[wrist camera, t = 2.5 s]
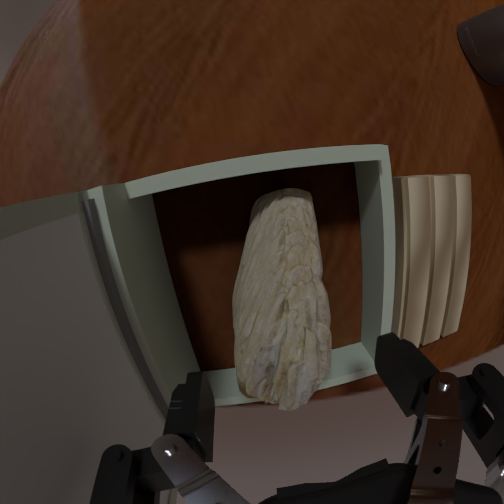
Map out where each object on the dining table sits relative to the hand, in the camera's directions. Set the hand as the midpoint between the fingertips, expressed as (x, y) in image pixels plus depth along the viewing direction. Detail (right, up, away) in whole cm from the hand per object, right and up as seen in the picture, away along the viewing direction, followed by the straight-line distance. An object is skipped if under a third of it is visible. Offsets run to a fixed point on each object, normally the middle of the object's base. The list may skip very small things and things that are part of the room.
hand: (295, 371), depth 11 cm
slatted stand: (+16, +4, +11) cm, 20 cm away
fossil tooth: (0, +3, +11) cm, 12 cm away
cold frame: (0, +3, +11) cm, 11 cm away
